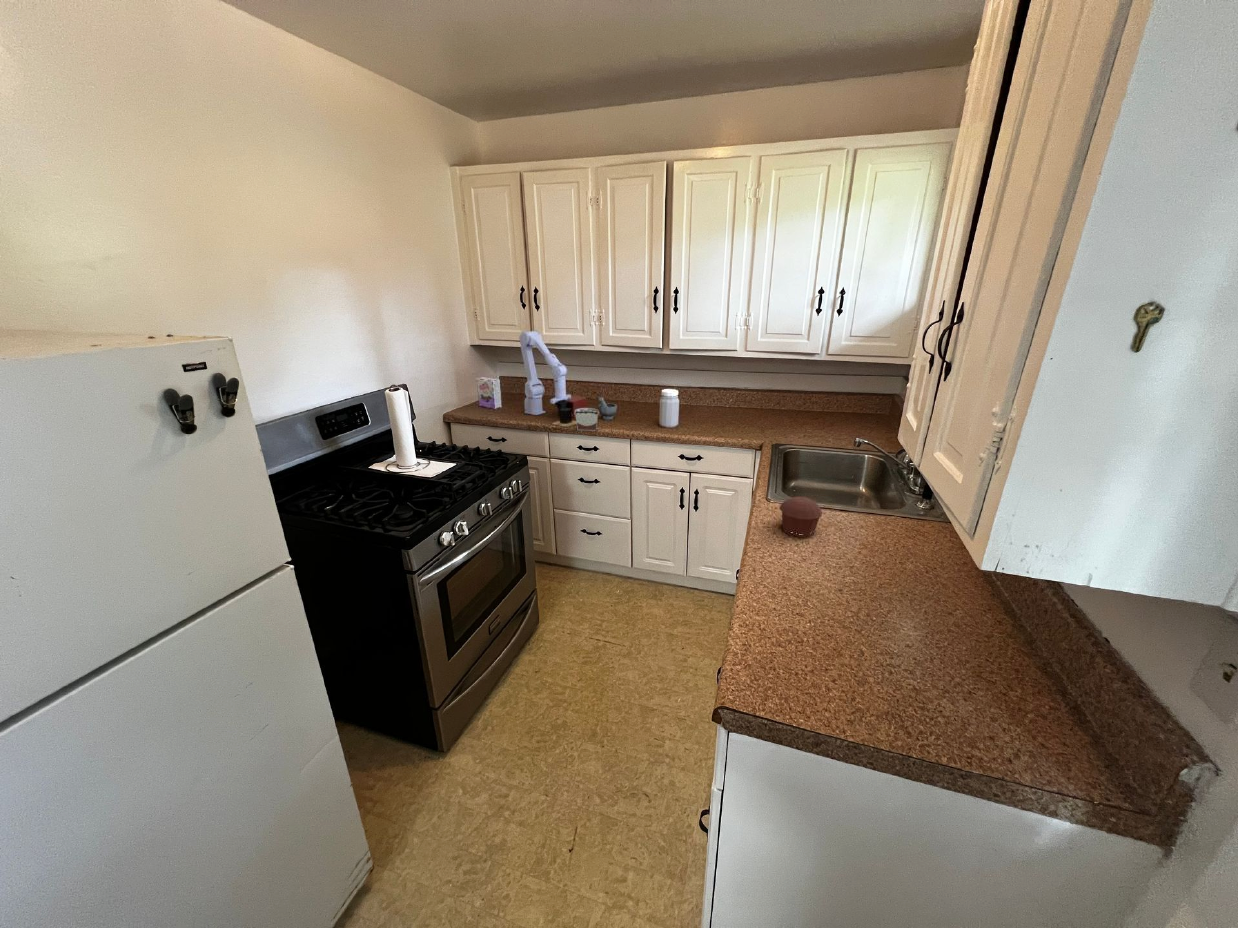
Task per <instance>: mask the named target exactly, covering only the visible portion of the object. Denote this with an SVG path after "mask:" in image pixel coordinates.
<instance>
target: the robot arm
mask: <svg viewBox="0 0 1238 928" xmlns="http://www.w3.org/2000/svg"><path fill="white" fill-rule="evenodd" d="M518 339H519V342H520V350H521V356H522V361H523V365H524V369H525V374H526V379H527V381H526V382H525V383H524V394H525V396H526V397H525V398H524V412H523V413H524V414H529V415H533V416H538V415H542V414H546V412H547V411H545V410H543V396H544V394H545V387H544V385H543V382H542V381H541V379H539V378H538V374H537V369H536V365H535V360H534V354H533V348H534V347H536V348H537V349H538V351H539V352H540V353H541V354H542V356H544V362H545V363H546V364H547V366H548V367H549V368H550V370H551V371H550V372H551V376H552V377H553V382H554V397H553V398H551V399H550V400H549V401H550V404H554V405H555V406H556V409H557V413H558V412H559V409H563V408H565V406H566V404H567V400H566V399H570V398H571V395H572V394H569V393H568V394H567V388H566V387H567V385H566V384H567V383H566V382H567V381H566V376H567V375H568V368H567V366H566V365H564V364H562V363H561V362H560V361H559V360H558V358H557V356H556V355H555V354H554V353H551V352H550V350H549V349H548V347H547V345H546V344H545V343H544V341H543V336H542V335H541V333H540V331H538V330H531V331H522V332H521V333H520V335H519V338H518Z"/></svg>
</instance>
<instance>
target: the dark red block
mask: <svg viewBox="0 0 1238 928" xmlns="http://www.w3.org/2000/svg"><path fill="white" fill-rule="evenodd" d="M570 395H571V398H570V399H566V400H567V404H566V406H565V408H572V409H573V416H572V419H576V415H575V414H574V412H575V410H576V409H580V408H588V397H586V396H580V395H572V394H570ZM557 416H559V417H560V414H559V412H558V411H557Z"/></svg>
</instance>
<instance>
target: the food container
mask: <svg viewBox="0 0 1238 928" xmlns="http://www.w3.org/2000/svg"><path fill="white" fill-rule="evenodd" d="M574 414H575V415H576V418H575V421H576V422H577V424H576V428H577V429H576V430H577V431H591V432H592V431H593V432H596V431H597V429H598V418H599V415H600V412H599V409H597V408H594V407H587V408H580V409H576V410H575V412H574Z"/></svg>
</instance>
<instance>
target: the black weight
mask: <svg viewBox="0 0 1238 928" xmlns="http://www.w3.org/2000/svg"><path fill="white" fill-rule="evenodd" d="M559 414H560V416H559V421H560V423H564V424H568V423H571V422H572V420H573V418H572V413H571V409H569V408H563V409H559Z"/></svg>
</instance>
